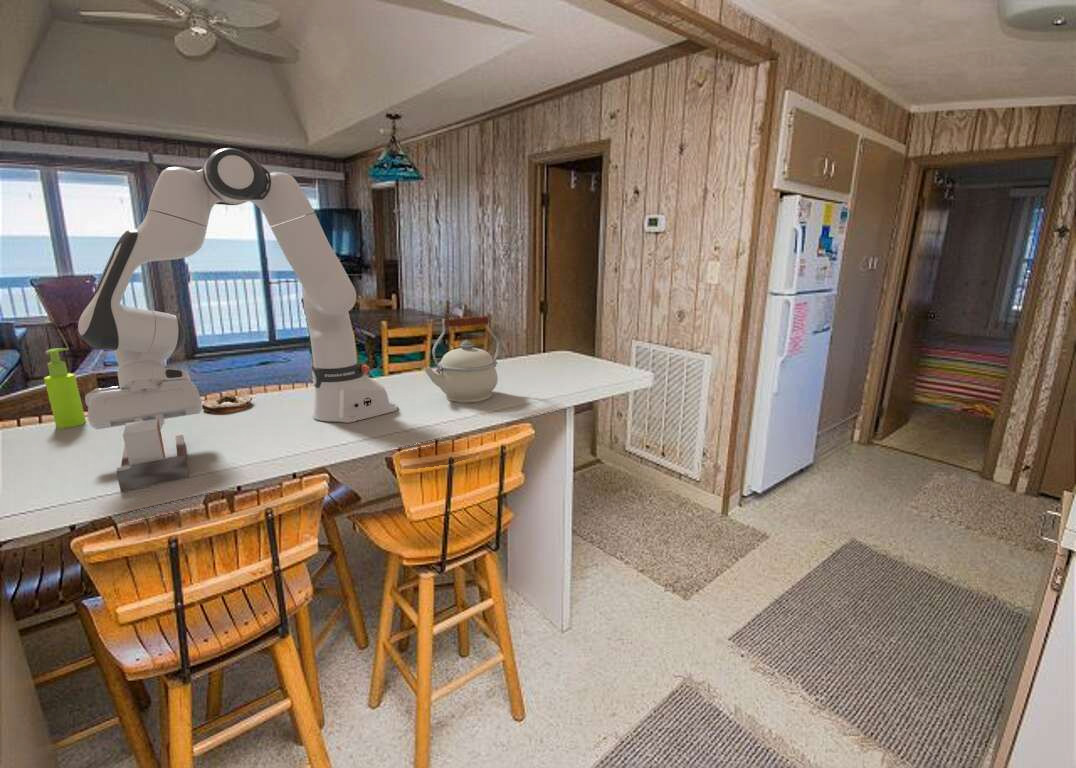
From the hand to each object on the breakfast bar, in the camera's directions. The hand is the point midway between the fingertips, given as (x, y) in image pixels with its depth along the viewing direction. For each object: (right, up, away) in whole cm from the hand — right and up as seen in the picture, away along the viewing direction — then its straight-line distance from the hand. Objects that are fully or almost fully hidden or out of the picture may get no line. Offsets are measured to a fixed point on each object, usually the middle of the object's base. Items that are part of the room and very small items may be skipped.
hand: (152, 436), depth 112 cm
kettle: (+61, +7, +49) cm, 78 cm away
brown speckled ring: (-6, +4, +38) cm, 39 cm away
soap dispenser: (-39, +1, +24) cm, 46 cm away
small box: (+4, -7, -6) cm, 10 cm away
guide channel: (+1, -6, -1) cm, 6 cm away
